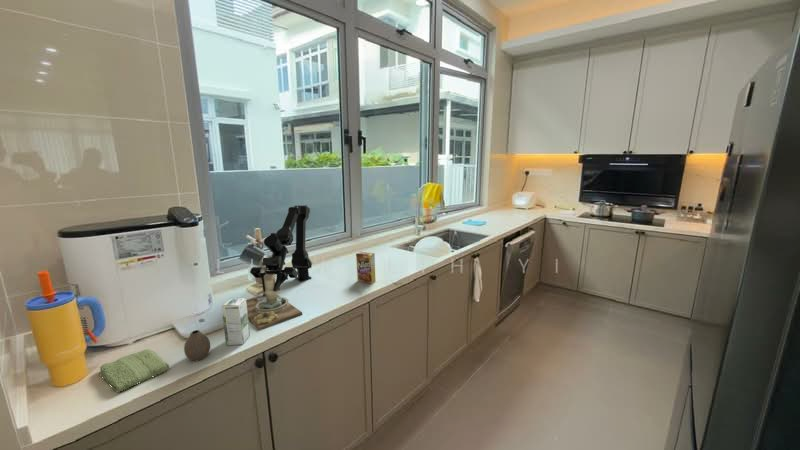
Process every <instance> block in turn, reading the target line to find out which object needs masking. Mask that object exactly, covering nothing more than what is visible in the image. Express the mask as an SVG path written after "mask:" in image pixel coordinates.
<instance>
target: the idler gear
mask: <svg viewBox="0 0 800 450" xmlns="http://www.w3.org/2000/svg"><path fill="white" fill-rule="evenodd" d="M275 282H276V279H275V274H267V275H264V283H265V293H266V301H263V302H262V304H263V305H261V306H262V308H267V309H269V308H270V309H273V308H275V307H278V306H281V305H282V299H281V298H280V299H278V298H277V296H276V294H277V290H276V291H275V292H274V291H273V290H274V285H275Z"/></svg>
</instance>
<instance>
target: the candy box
mask: <svg viewBox="0 0 800 450" xmlns="http://www.w3.org/2000/svg"><path fill="white" fill-rule="evenodd" d="M375 255H376V254H375V252H366V251H360V250H359V251H358V252H356V253H355V256H356V257H355V258H356V276H357V282H362V283H367V284H374V283H375V282H376V259H375V258H376V257H375Z"/></svg>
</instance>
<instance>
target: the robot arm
mask: <svg viewBox="0 0 800 450" xmlns="http://www.w3.org/2000/svg"><path fill="white" fill-rule="evenodd" d="M310 209H311V208H310V207H309V206H308V205H306V204H305V205H298V204H297V205H294V206H290V207H288V210H287V212H288V213H287V214H286V217H285V220H284V222H283V225H282V227H281V228H280V229H278V230H277V231H276V233H275V232H271V233H270V234H269V235H267V237H266V238H265V239H264V240H263V244H264V246H265V247H266V248H267V249H268V250H269V252H270V253H272V254H271V256H269V257H262V263H261V265H262V266H265V268H266V269H264V268H262V266H252V267H251V268H250V271H249V274H251V275H252V276H253V277H254V278H256V279H261V282H262V284H261V285H262V291H263V293H266V291H265V283H264V275H267V274H274V275H276V279H275V285H274V290H273V291H274V292H275V291H276V292H277V290H278V289H279V288H280V287H281V286H282V284H284V282H285V281H286V280H288V279H289V278H290V279H295V280H297V281H300V282H303V281H307V280H309V279H312V276H310V273H309V269H312V264H313V263H312V260H311V259H310V257H309V253H308V251H307V250H306V232H307V231H306V227H307V226H306V222H307V221H308V219H309V218H310V213H311V210H310ZM294 229H295V250H294V252H292V253H291V265H292V266H285V265H286V262H285V261H286V256H287V254H289V250H288V248H287V247H286V246H291V245H292V243H293V242H294V235H293V231H294ZM284 266H285V267H284ZM283 267H284V268H283Z"/></svg>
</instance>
